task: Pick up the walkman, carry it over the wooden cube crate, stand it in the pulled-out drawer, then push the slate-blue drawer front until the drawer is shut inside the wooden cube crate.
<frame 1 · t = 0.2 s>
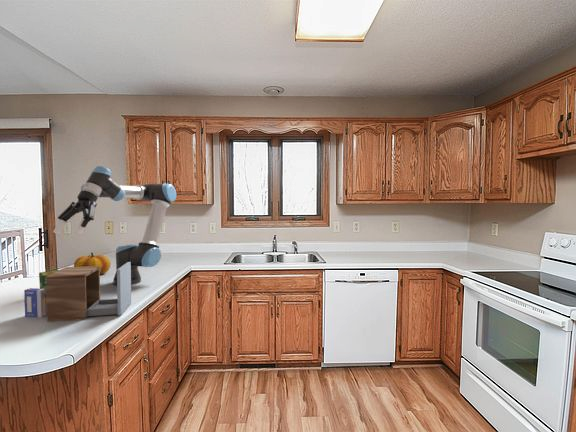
hand: (66, 233, 134), 35 cm above the worktop, tool tilted 35°, fingers open, 13 cm apart
coffee box: (50, 295, 158), on the worktop
wooden cube crate: (75, 313, 134), on the worktop
drawer: (109, 287, 137), point 11 cm above the worktop, slide at 12.0 cm
decorative pumpkin: (92, 274, 204), on the worktop
walkman: (36, 316, 130), on the worktop
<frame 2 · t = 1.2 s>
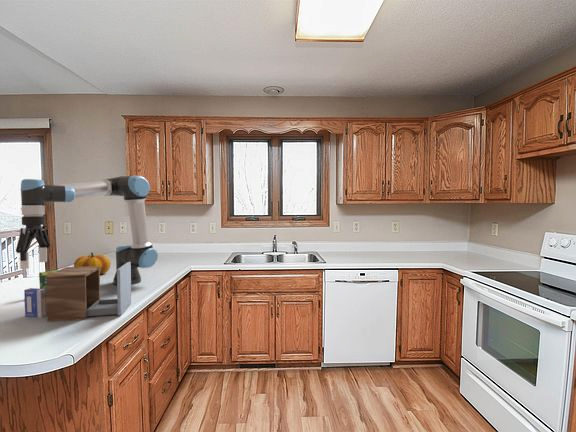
hand: (34, 265, 129), 22 cm above the worktop, tool pointing down, fingers open, 13 cm apart
nothing on the worktop moved.
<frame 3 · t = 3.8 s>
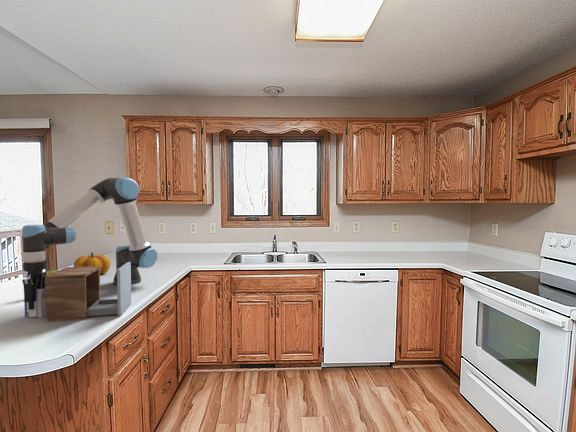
hand: (36, 314, 130), 1 cm above the worktop, tool pointing down, fingers closed on walkman, 4 cm apart
walkman: (36, 316, 130), on the worktop, touching gripper
everything else where it was.
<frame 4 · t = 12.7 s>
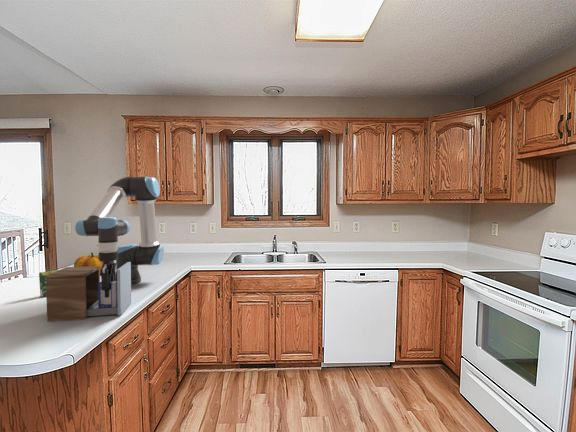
hand: (109, 302, 137), 4 cm above the worktop, tool pointing down, fingers closed on walkman, 3 cm apart
drawer: (109, 287, 137), point 10 cm above the worktop, slide at 12.0 cm, touching walkman
walkman: (108, 307, 137), point 1 cm above the worktop, touching gripper, drawer
everything else where it was.
when the fingers open (4 cm above the worktop, at t = 13.0 s): walkman moves 3 cm, resting on drawer.
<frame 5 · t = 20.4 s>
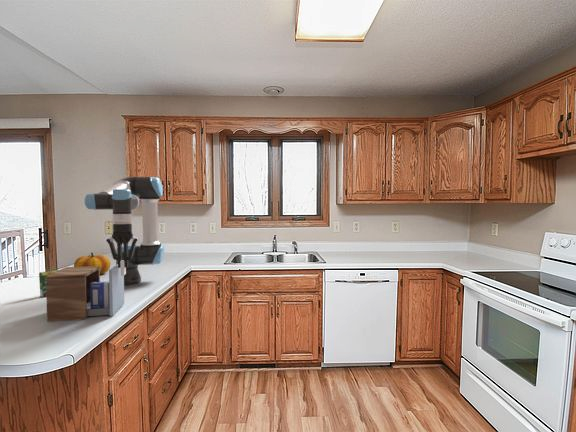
hand: (123, 274, 138), 16 cm above the worktop, tool pointing down, fingers closed
drawer: (101, 288, 136), point 10 cm above the worktop, slide at 8.9 cm, touching gripper, walkman
walkman: (101, 308, 136), point 1 cm above the worktop, touching drawer
everything else where it was.
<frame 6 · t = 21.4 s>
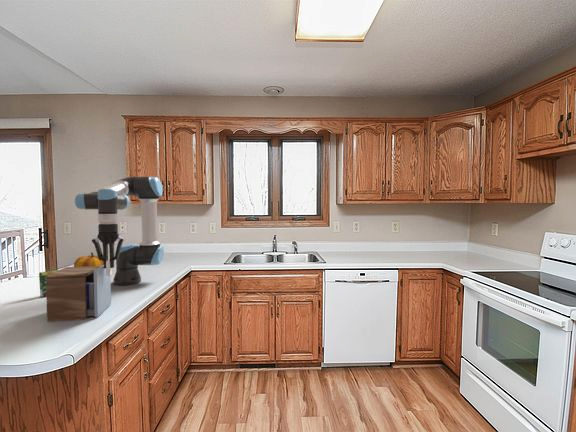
hand: (109, 275, 136), 16 cm above the worktop, tool pointing down, fingers closed
drawer: (87, 289, 134), point 11 cm above the worktop, slide at 3.1 cm, touching gripper, walkman
walkman: (86, 309, 135), point 1 cm above the worktop, touching drawer
everything else where it was.
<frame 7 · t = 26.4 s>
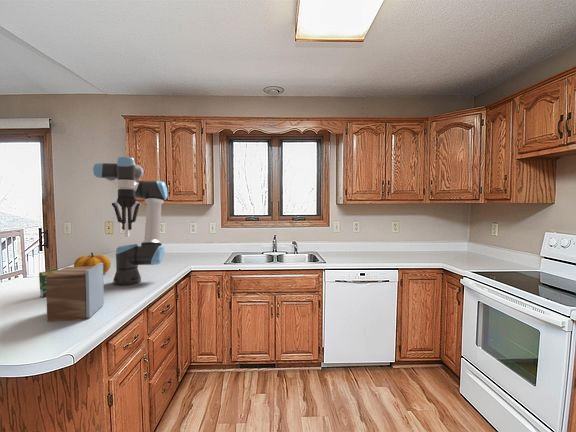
hand: (127, 236, 149), 32 cm above the worktop, tool pointing down, fingers closed
drawer: (79, 289, 134), point 10 cm above the worktop, slide at 0.0 cm, touching walkman
walkman: (79, 310, 134), point 1 cm above the worktop, touching drawer
everything else where it was.
at the end: drawer slide at 0.0 cm; walkman inside the target area on the wooden cube crate (0.8 cm from its centre), point 1.3 cm above the wooden cube crate's base; walkman tilted 0° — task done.
